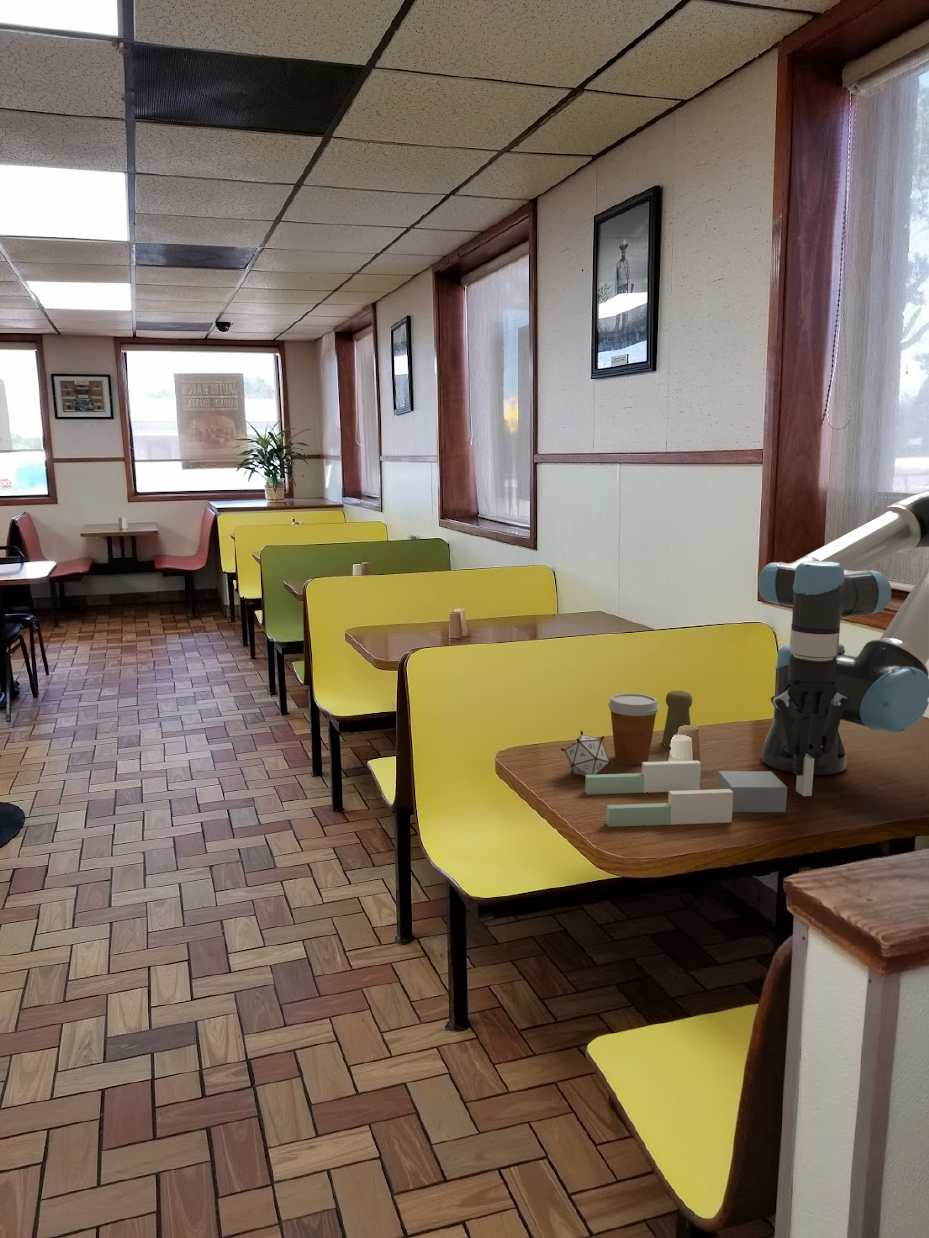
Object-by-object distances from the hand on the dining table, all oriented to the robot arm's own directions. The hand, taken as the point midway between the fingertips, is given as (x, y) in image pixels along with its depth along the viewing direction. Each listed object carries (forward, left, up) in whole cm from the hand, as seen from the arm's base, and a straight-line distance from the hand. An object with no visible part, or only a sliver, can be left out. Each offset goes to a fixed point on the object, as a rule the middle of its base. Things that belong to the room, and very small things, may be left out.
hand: (803, 792), depth 157 cm
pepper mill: (+11, -34, -2) cm, 35 cm away
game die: (+34, -16, -2) cm, 37 cm away
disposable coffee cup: (+23, -25, -2) cm, 33 cm away
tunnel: (+26, 0, -2) cm, 26 cm away
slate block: (+9, 0, -2) cm, 9 cm away
